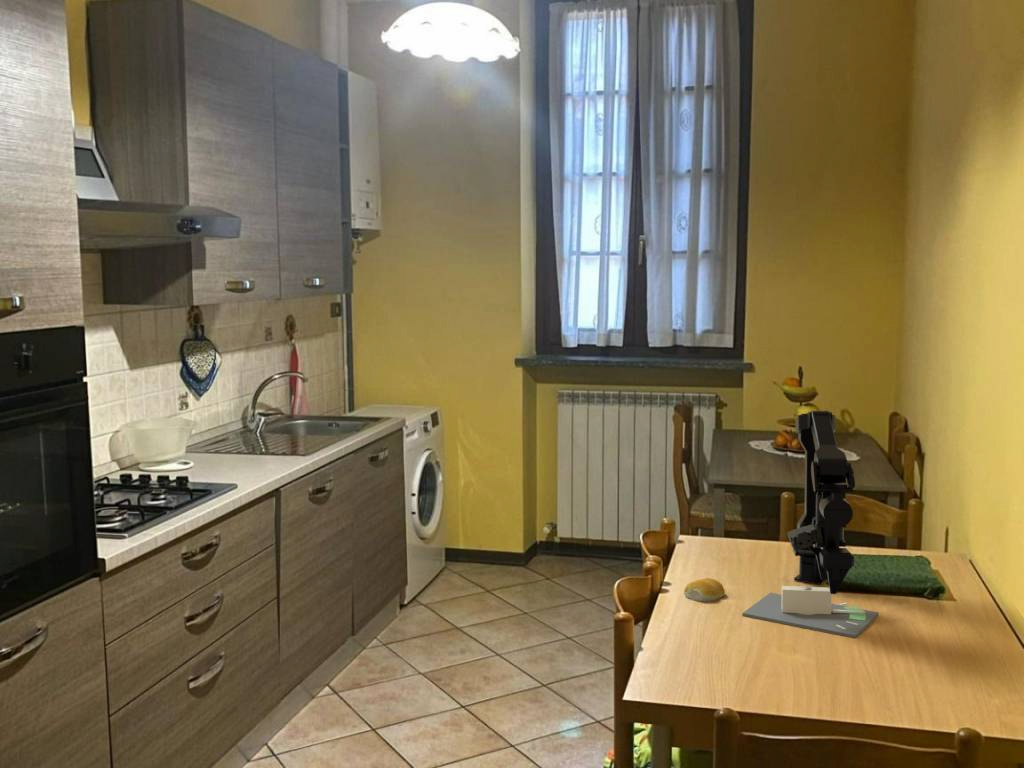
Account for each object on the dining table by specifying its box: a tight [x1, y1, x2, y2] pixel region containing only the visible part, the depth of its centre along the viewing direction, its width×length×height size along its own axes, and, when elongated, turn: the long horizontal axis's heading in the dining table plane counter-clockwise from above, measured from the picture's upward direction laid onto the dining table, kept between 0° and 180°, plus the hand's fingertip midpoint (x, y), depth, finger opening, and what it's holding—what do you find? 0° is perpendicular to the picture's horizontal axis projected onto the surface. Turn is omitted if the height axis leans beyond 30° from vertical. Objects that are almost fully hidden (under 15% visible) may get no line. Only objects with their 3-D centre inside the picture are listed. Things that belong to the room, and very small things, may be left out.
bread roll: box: [683, 577, 726, 602], centre depth 230 cm, size 8×9×4 cm
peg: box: [781, 585, 865, 614], centre depth 216 cm, size 3×17×5 cm, turn 81°
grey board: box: [742, 592, 880, 639], centre depth 217 cm, size 18×24×1 cm
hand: (828, 586), depth 215 cm, fingers open, 9 cm apart
